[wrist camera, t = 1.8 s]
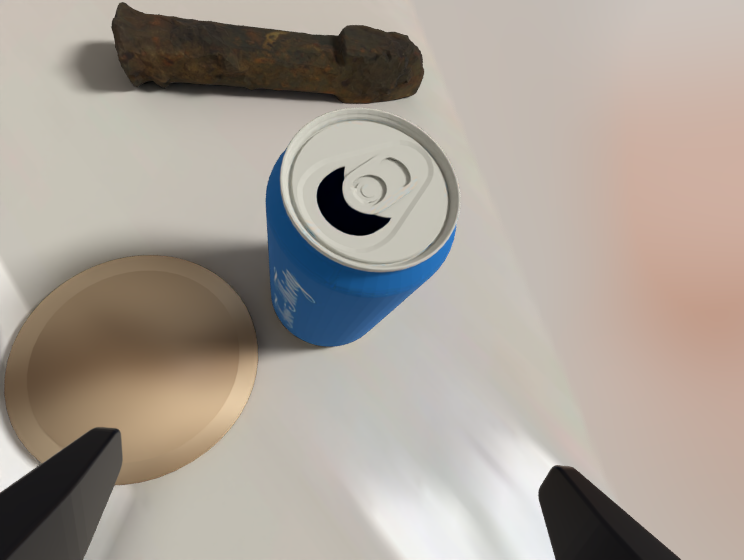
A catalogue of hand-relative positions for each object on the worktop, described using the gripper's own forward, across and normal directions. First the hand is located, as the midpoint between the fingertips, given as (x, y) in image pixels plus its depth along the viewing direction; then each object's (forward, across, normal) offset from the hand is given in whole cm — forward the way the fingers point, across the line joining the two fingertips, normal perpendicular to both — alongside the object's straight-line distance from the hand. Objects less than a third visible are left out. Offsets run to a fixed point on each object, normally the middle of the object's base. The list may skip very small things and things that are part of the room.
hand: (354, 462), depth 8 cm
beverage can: (+15, 0, +4) cm, 15 cm away
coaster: (+11, +9, +8) cm, 16 cm away
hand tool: (+26, +5, -6) cm, 27 cm away
